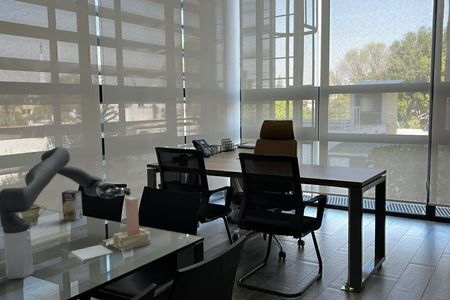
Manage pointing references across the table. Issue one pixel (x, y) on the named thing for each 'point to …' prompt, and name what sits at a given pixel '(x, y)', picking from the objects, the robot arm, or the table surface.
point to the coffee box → (72, 205)
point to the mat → (90, 252)
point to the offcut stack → (118, 239)
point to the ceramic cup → (32, 214)
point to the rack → (132, 240)
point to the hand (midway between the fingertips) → (121, 194)
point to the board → (132, 216)
